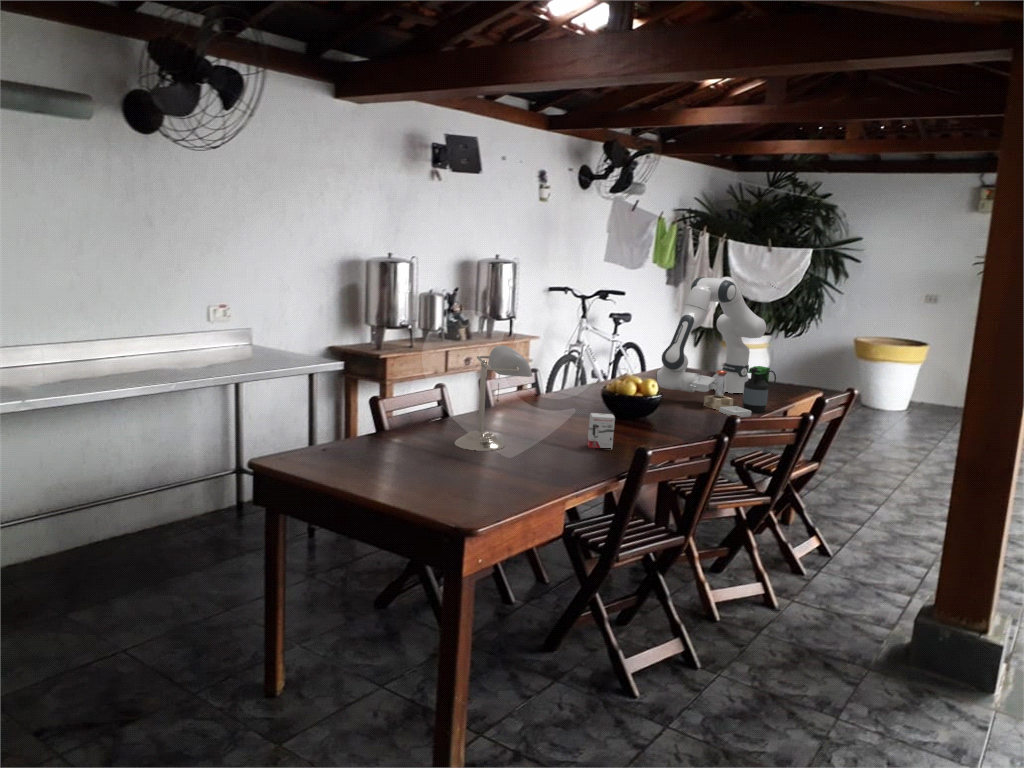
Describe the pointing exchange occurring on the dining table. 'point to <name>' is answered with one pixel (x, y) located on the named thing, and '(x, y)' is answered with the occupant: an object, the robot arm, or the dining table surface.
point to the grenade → (757, 389)
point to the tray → (735, 411)
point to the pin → (720, 383)
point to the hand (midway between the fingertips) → (722, 386)
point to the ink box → (601, 430)
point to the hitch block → (717, 402)
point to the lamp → (505, 365)
